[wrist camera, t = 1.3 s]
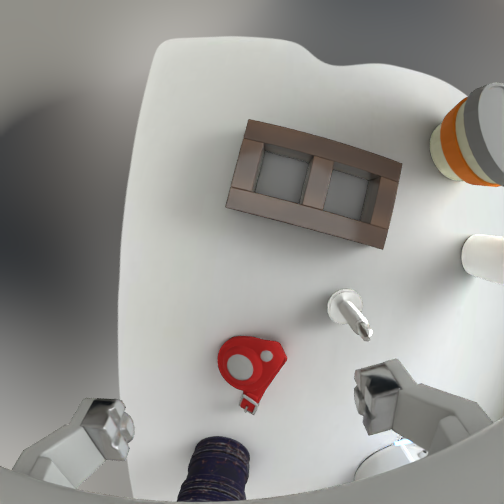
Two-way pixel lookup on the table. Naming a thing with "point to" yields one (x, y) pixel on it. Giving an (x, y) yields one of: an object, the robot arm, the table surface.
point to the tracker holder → (250, 367)
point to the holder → (316, 183)
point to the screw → (349, 312)
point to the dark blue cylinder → (216, 472)
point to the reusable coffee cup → (473, 139)
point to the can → (484, 257)
